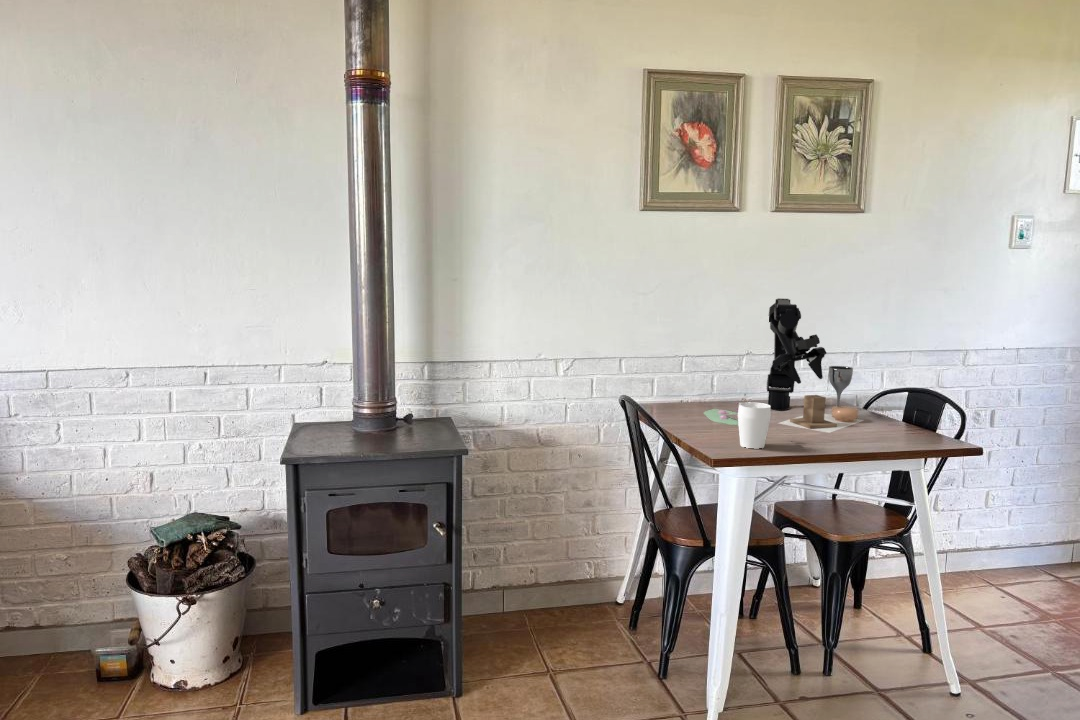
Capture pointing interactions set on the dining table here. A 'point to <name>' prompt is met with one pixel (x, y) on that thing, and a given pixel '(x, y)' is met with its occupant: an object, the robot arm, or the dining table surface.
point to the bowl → (844, 413)
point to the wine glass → (840, 378)
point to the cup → (753, 424)
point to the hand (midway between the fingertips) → (810, 380)
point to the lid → (813, 413)
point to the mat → (827, 418)
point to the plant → (723, 415)
